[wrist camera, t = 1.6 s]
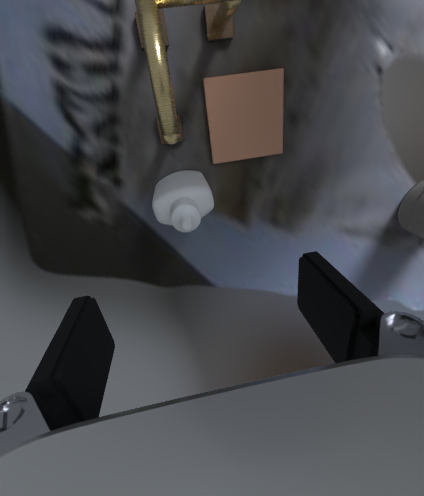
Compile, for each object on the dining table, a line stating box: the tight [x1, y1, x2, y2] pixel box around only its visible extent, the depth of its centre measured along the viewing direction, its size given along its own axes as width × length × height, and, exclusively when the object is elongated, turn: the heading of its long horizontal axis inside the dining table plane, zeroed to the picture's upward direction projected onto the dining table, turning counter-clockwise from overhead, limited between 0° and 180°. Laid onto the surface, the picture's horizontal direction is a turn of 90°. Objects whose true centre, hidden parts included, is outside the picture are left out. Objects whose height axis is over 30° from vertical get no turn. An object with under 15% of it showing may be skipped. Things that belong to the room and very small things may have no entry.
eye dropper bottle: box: [152, 170, 214, 233], centre depth 24 cm, size 4×6×12 cm
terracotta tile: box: [203, 68, 284, 164], centre depth 27 cm, size 8×8×1 cm
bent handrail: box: [135, 0, 242, 144], centre depth 21 cm, size 10×8×9 cm
